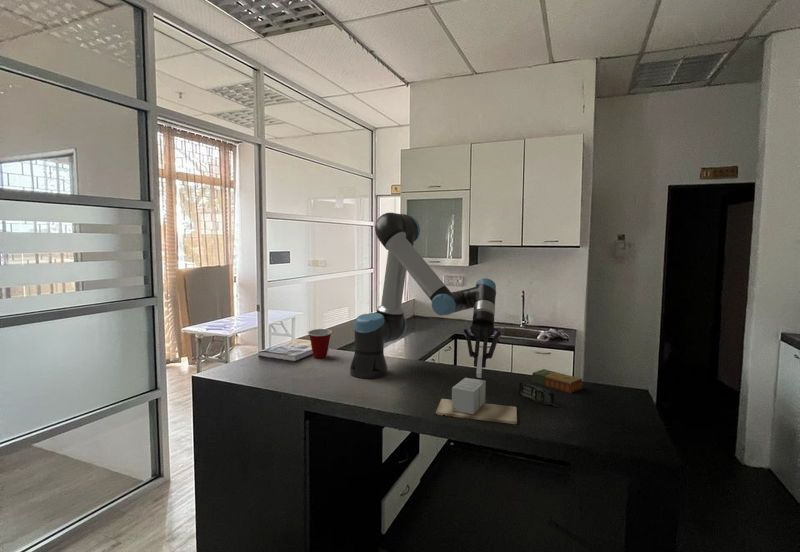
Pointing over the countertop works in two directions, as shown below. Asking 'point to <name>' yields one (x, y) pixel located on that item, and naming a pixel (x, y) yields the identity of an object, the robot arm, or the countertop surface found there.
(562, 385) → the carton
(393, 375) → the countertop surface
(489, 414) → the wooden board
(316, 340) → the plastic cup
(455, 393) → the supplement box
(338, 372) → the countertop surface
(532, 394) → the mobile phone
